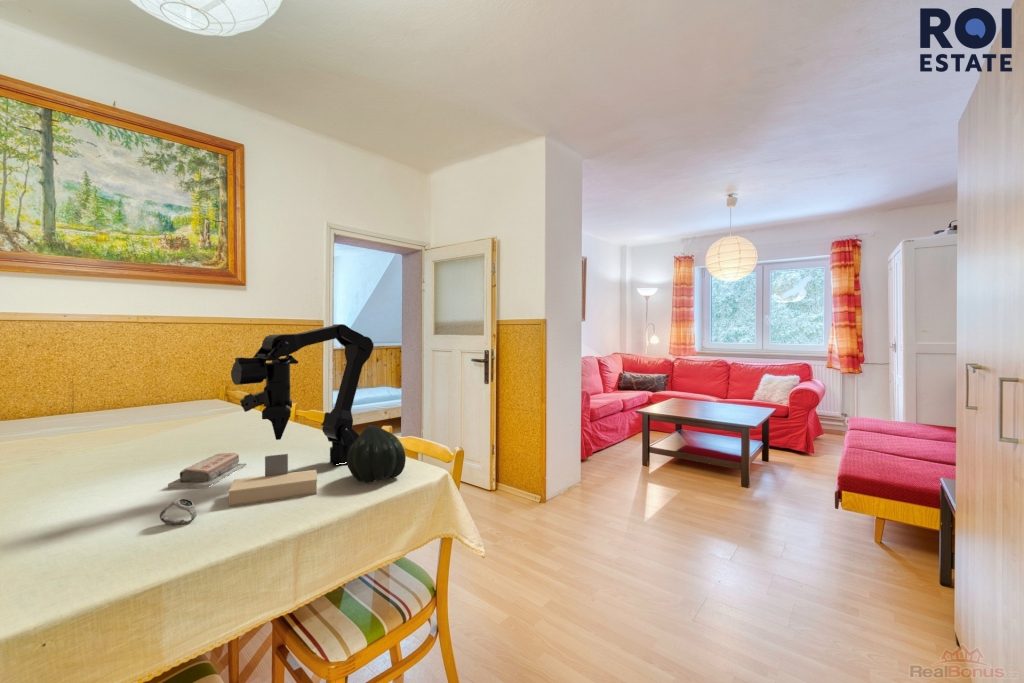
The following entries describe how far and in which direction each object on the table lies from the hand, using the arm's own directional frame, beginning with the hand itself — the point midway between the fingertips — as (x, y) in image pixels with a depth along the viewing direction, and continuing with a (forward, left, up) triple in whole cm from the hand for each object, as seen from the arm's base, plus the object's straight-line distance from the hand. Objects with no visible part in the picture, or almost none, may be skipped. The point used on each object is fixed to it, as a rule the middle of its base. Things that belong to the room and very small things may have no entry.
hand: (278, 439), depth 113 cm
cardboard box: (0, +11, -11) cm, 16 cm away
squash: (-24, +10, -11) cm, 28 cm away
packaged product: (+17, -11, -12) cm, 23 cm away
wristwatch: (+17, +21, -11) cm, 29 cm away
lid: (0, +11, -8) cm, 14 cm away
